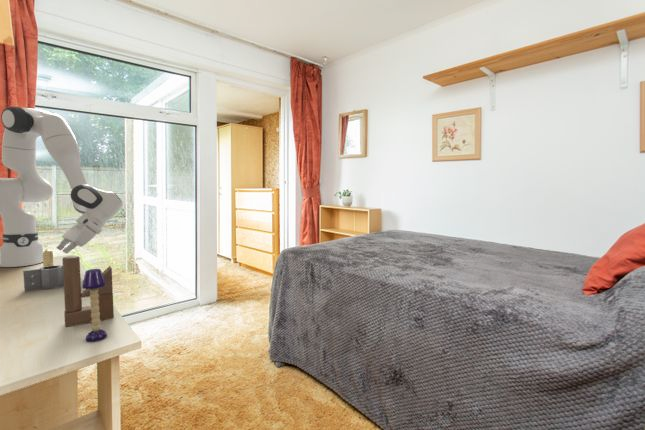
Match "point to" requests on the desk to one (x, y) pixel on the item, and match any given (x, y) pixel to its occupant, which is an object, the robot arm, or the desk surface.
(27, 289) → the octagonal sleeve with tab
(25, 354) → the desk surface
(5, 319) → the desk surface
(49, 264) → the brass pin
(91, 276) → the toy lamp
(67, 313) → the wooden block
